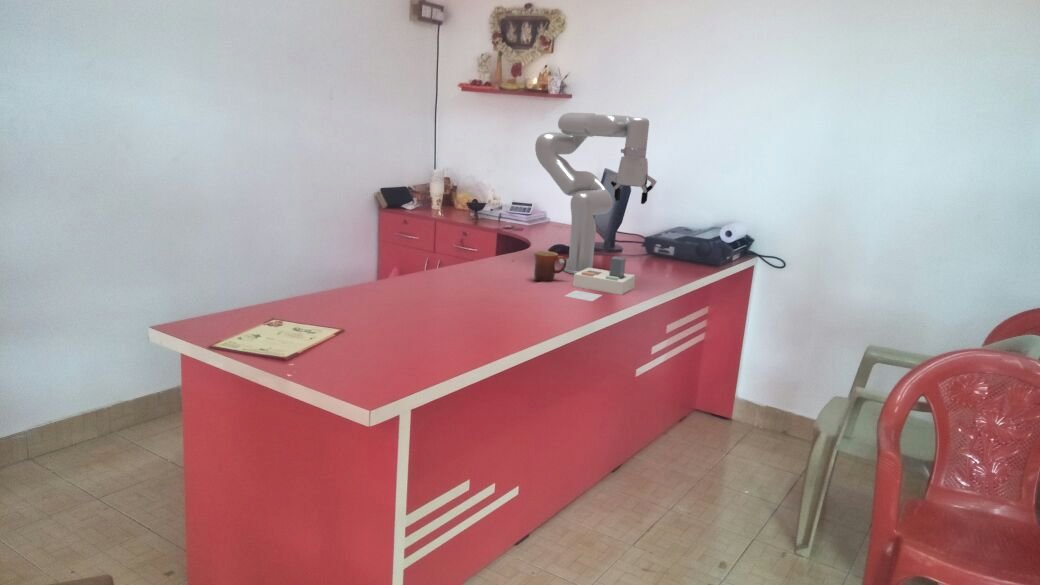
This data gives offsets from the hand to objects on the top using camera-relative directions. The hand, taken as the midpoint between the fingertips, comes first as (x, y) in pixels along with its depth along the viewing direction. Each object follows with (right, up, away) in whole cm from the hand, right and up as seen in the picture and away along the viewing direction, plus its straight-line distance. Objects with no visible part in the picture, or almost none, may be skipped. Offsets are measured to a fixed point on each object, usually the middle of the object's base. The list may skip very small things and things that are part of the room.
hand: (630, 201), depth 255 cm
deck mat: (-18, -34, -15) cm, 41 cm away
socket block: (-10, -31, -1) cm, 32 cm away
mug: (-29, -29, +4) cm, 41 cm away
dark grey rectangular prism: (-6, -30, -3) cm, 31 cm away
